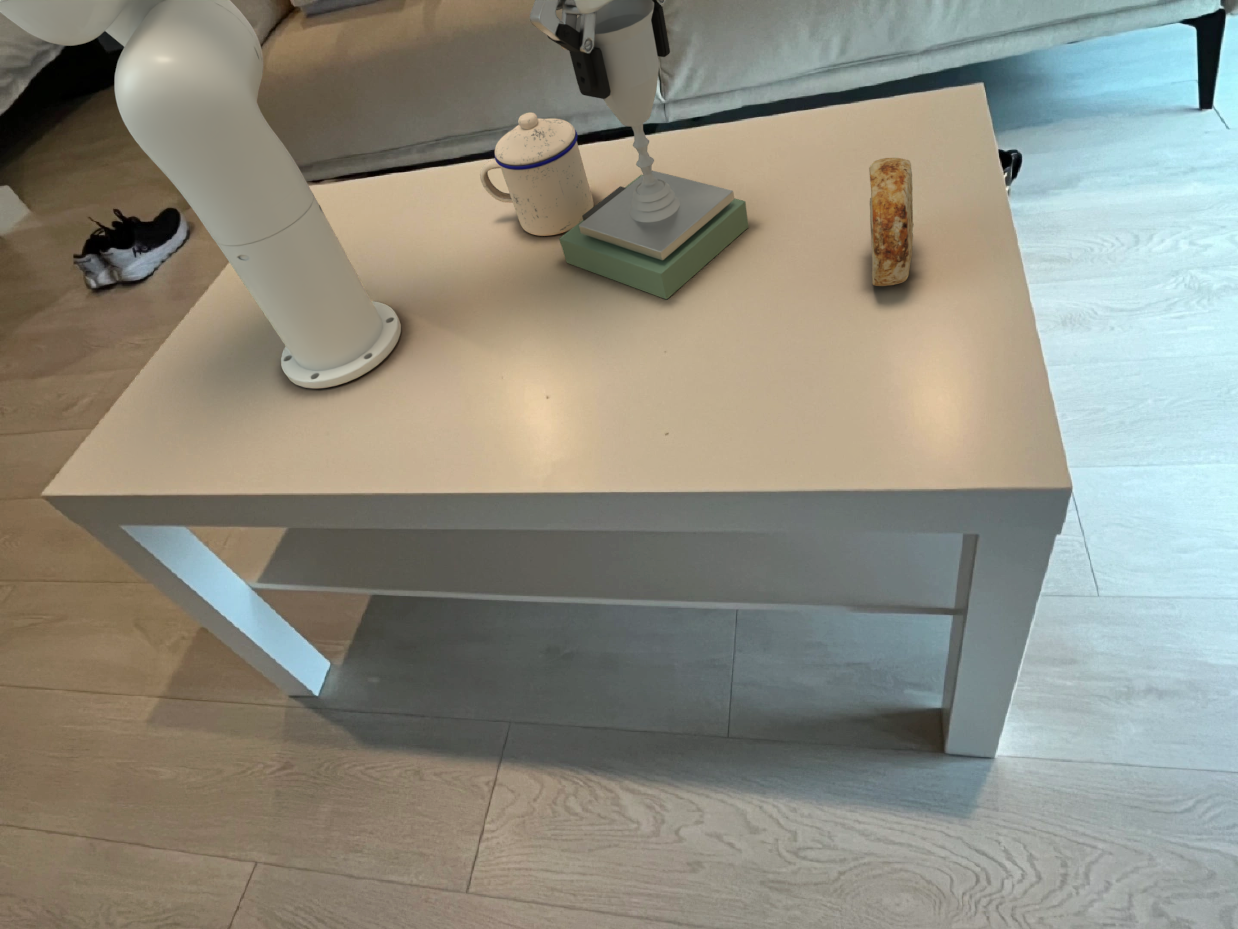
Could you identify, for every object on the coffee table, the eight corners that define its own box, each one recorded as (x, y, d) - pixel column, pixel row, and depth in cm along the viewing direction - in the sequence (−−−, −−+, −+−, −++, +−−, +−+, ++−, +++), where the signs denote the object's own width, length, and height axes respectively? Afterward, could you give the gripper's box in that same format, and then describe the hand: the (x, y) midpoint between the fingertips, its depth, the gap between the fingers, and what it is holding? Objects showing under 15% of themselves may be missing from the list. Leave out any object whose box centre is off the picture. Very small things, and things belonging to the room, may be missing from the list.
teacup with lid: (603, 189, 94) (577, 89, 86) (587, 234, 88) (557, 132, 80) (507, 199, 97) (474, 104, 89) (486, 244, 92) (447, 146, 83)
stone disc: (912, 306, 69) (917, 201, 62) (866, 307, 70) (866, 205, 63) (911, 235, 76) (916, 133, 69) (869, 237, 77) (870, 137, 70)
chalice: (683, 226, 77) (645, 26, 64) (614, 231, 79) (564, 39, 66) (693, 184, 81) (661, -10, 68) (628, 190, 83) (584, 3, 70)
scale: (566, 262, 86) (557, 233, 83) (646, 198, 91) (640, 168, 88) (666, 299, 78) (659, 268, 75) (748, 227, 83) (745, 195, 80)
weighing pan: (580, 233, 82) (578, 224, 81) (651, 177, 86) (649, 169, 85) (662, 261, 76) (660, 251, 75) (734, 199, 80) (733, 190, 79)
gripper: (616, -212, 63) (658, 27, 76) (450, -132, 57) (527, 115, 69) (690, -221, 59) (721, 34, 72) (521, -135, 52) (588, 129, 65)
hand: (625, 72), depth 71 cm, fingers closed on chalice, 7 cm apart
